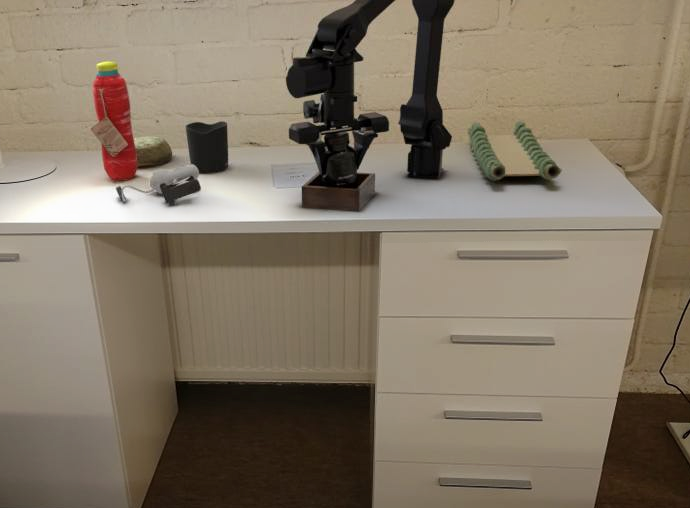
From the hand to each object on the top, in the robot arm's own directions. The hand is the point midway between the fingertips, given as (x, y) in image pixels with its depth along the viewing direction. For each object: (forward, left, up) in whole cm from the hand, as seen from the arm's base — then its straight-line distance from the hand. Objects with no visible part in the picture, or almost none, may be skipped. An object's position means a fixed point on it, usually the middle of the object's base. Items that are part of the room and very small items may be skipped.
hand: (339, 172), depth 152 cm
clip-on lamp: (+37, +7, -6) cm, 38 cm away
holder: (0, 0, -6) cm, 6 cm away
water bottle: (+53, -4, -6) cm, 53 cm away
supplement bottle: (0, 0, -5) cm, 5 cm away
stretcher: (-29, -33, -6) cm, 44 cm away
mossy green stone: (+55, -19, -6) cm, 59 cm away
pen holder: (+36, -16, -6) cm, 40 cm away
